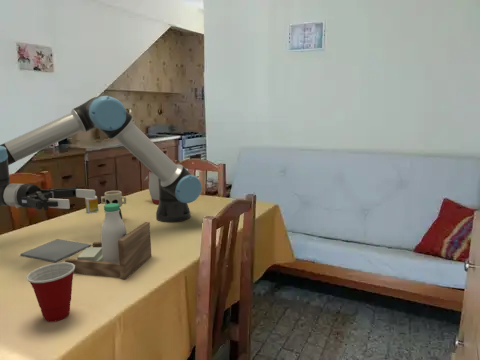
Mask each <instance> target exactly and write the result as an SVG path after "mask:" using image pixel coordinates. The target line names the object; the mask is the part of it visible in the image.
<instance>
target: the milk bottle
mask: <svg viewBox="0 0 480 360" xmlns="http://www.w3.org/2000/svg"><path fill="white" fill-rule="evenodd" d="M103 205H104V206H103V209H104V210H103V211H104V213H105V214H104V220H103V222H102V225H101V229H100V241H101V242H100V243H102V256H103V262H112V263H119V248H118V240H119V239H121V238H122V237H124V236H125V235H127V229H126V225H125V223H124V221H123V218H122V219H121V217H120V214H119V211H120V210H119V209H121V207H120V206H119V204H117V203H110V204H106V205H105V204H103Z"/></svg>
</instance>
